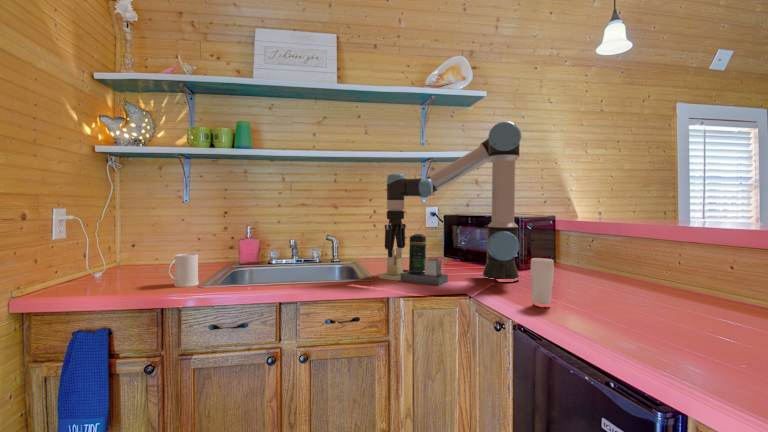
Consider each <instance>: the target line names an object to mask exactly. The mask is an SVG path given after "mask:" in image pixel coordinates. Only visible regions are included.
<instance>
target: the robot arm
mask: <svg viewBox="0 0 768 432" xmlns="http://www.w3.org/2000/svg"><path fill="white" fill-rule="evenodd" d="M521 139H522V132H521V130H520V128H519V126H518V125H516V124H515V123H514V122H511V121H505V120H504V121H499V122H498V123H496V124H494V125H493V126H492V127H491V129H490V131H489V133H488V138H487V139H486V140H484V141H482V142H481V143H479V146H478V147H477V148H475V149H473V150H471V151H469V152H468V153H466V154H465V155H463V156H461V157H459V158H458V159H456V160H454V161H453V162H451V163H449V164H447V165H446V166H444V167H442V168H440V169H439V170H437V171H435V172H434V173H432V174H431V175H429V176H426V177H423V178H405V174H402V173H391V174H388V175H387V177H386V210H387V211H386V219H387V220H388V224H384V232H385V233H384V248H385V250H387V258H388V265H394V255H399V256H400V257H403V249H405V248H406V224H405V223H403V221H402V220H405V211H404V210H405V197H420V198H424V199H425V198H428V197H431V196H432V195H433V193H436V192H437V191H439V190H440V189H442V188H444V187H446V186H448V185H450V184H451V183H453V182H455V181H457V180H458V179H461V178H462V177H464V176H465V175H467V174H469V173H471V172H473V171H475V170H476V169H478V168H479V167H482V166H483V165H485V164H487V163H492V166H491V167H492V168H491V169H492V170H491V171H492V172H491V176H492V177H491V179H492V182H491V222H490V223H489V224H487V230H486V237H487V238H486V263H485V265H484V268H483V272H482V277H483V276H484V277H488V278H494V279H515V278H518V277H520V275H519V272H518V268H517V265H516V261H515V259H516V255H517V254H518V253H519V250H520V243H519V242H520V241H519V226H518V224H517V223H515V202H516V201H515V200H516V199H515V198H516V197H515V196H516V195H515V194H516V193H515V191H516V189H515V188H516V161H517V160H518V159H519V158H520V142H521ZM395 240H396V248H395V249H394V245H395Z"/></svg>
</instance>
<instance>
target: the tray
mask: <svg viewBox="0 0 768 432" xmlns="http://www.w3.org/2000/svg"><path fill="white" fill-rule="evenodd" d="M404 272H405V271H403V273H404ZM378 278H379V279H382V280H389V281H391V280H392V281H401V275H400V276H390V275H387V272H383V273H380V274H379V276H378Z"/></svg>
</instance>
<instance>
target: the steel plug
mask: <svg viewBox="0 0 768 432" xmlns="http://www.w3.org/2000/svg"><path fill="white" fill-rule="evenodd" d="M442 261H443V260H442V259H439V258H438V257H429V258H428V259H426V260H425V276H431V277H439V276H441V274H442V266H443V264H442Z"/></svg>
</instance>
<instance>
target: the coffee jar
mask: <svg viewBox="0 0 768 432" xmlns="http://www.w3.org/2000/svg"><path fill="white" fill-rule="evenodd" d="M408 249H409V252H408V254H409V255H408V257H409V258H408V259H409V260H408V261H409V263H408V264H409V265H408V271H420V272H423V271H425V260H427V237H426V236H425V235H424V234H423V233H415V234H413V235H411V236H409V248H408Z"/></svg>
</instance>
